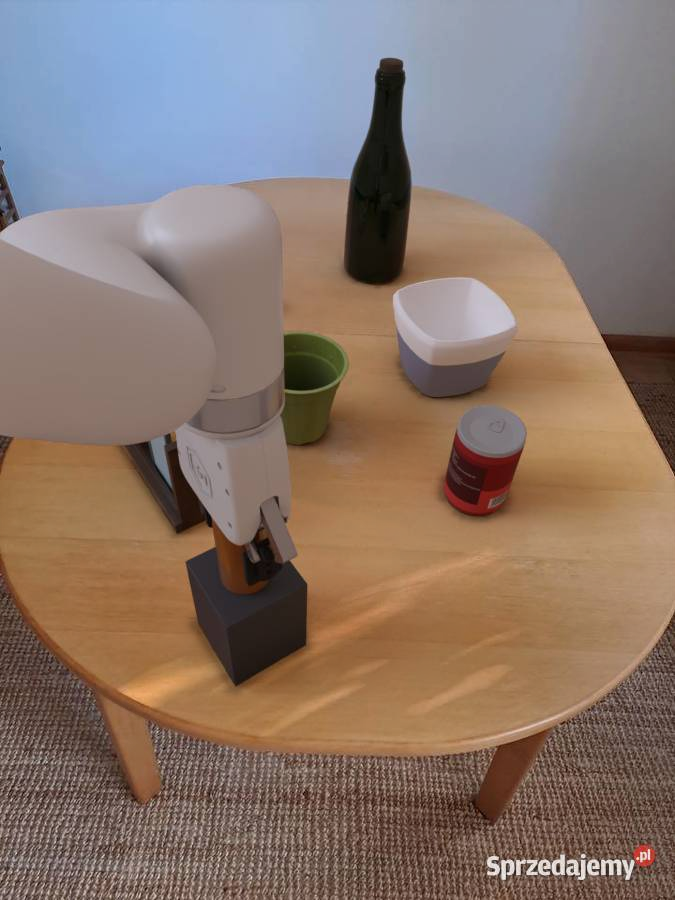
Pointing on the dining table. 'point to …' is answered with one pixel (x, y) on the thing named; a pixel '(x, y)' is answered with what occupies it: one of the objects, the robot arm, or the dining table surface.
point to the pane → (161, 457)
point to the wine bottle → (380, 186)
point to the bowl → (451, 334)
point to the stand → (249, 617)
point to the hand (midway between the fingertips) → (243, 545)
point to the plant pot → (310, 384)
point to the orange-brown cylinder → (234, 562)
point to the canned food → (483, 459)
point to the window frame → (183, 501)
